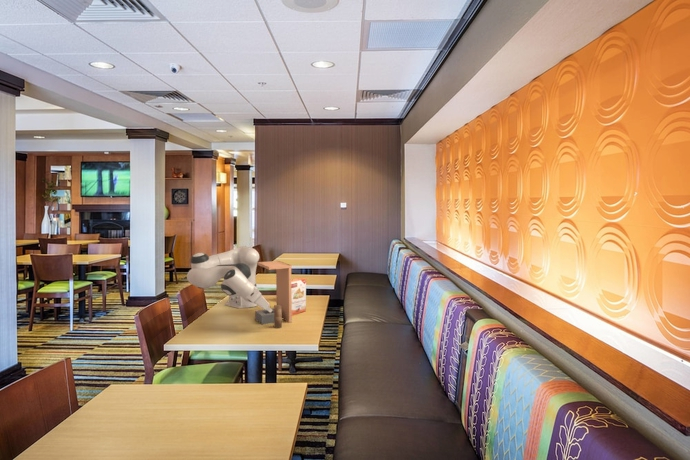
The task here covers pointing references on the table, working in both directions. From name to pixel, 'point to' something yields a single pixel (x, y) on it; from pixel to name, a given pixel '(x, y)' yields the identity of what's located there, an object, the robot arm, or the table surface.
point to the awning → (282, 286)
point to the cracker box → (298, 295)
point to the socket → (264, 316)
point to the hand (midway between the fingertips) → (268, 309)
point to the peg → (277, 316)
